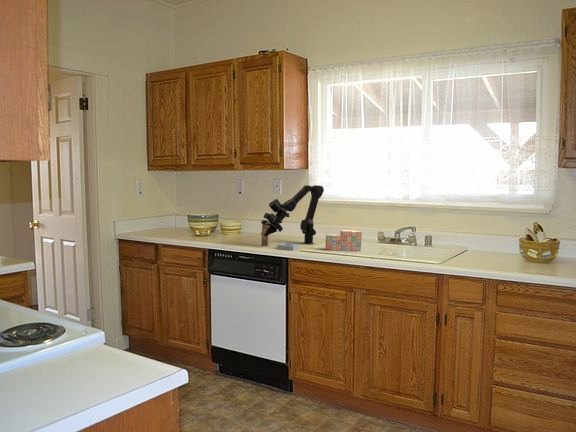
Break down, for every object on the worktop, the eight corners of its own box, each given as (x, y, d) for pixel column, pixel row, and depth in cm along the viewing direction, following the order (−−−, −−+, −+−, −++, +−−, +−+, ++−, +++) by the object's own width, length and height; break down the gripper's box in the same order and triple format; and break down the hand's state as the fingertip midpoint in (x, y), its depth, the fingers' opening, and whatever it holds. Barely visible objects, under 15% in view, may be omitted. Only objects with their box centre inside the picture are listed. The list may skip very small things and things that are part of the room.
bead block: (283, 246, 324) (283, 242, 323) (298, 248, 320) (298, 244, 320) (277, 248, 314) (277, 244, 314) (293, 250, 311) (293, 246, 310)
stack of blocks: (326, 250, 318) (327, 230, 317) (325, 248, 324) (326, 229, 323) (360, 251, 319) (361, 231, 318) (359, 250, 325) (360, 230, 324)
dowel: (263, 245, 328) (263, 224, 327) (268, 245, 327) (269, 225, 326) (260, 245, 325) (261, 225, 324) (266, 246, 323) (267, 225, 322)
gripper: (264, 207, 334) (248, 224, 329) (279, 209, 318) (262, 228, 313) (274, 219, 339) (258, 236, 334) (289, 222, 323) (273, 240, 318)
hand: (263, 235), depth 325 cm, fingers closed on dowel, 4 cm apart
